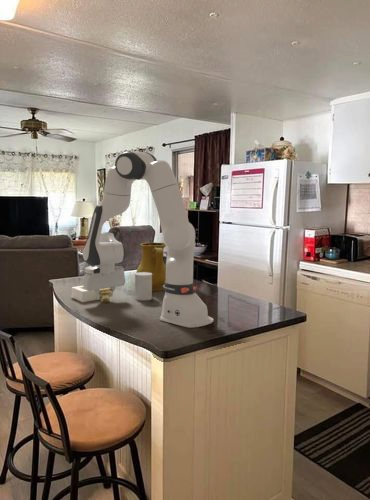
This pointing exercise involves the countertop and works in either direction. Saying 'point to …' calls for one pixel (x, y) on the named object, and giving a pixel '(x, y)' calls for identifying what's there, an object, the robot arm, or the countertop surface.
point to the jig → (83, 294)
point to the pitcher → (153, 263)
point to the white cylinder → (143, 286)
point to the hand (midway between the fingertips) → (105, 297)
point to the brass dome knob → (105, 295)
